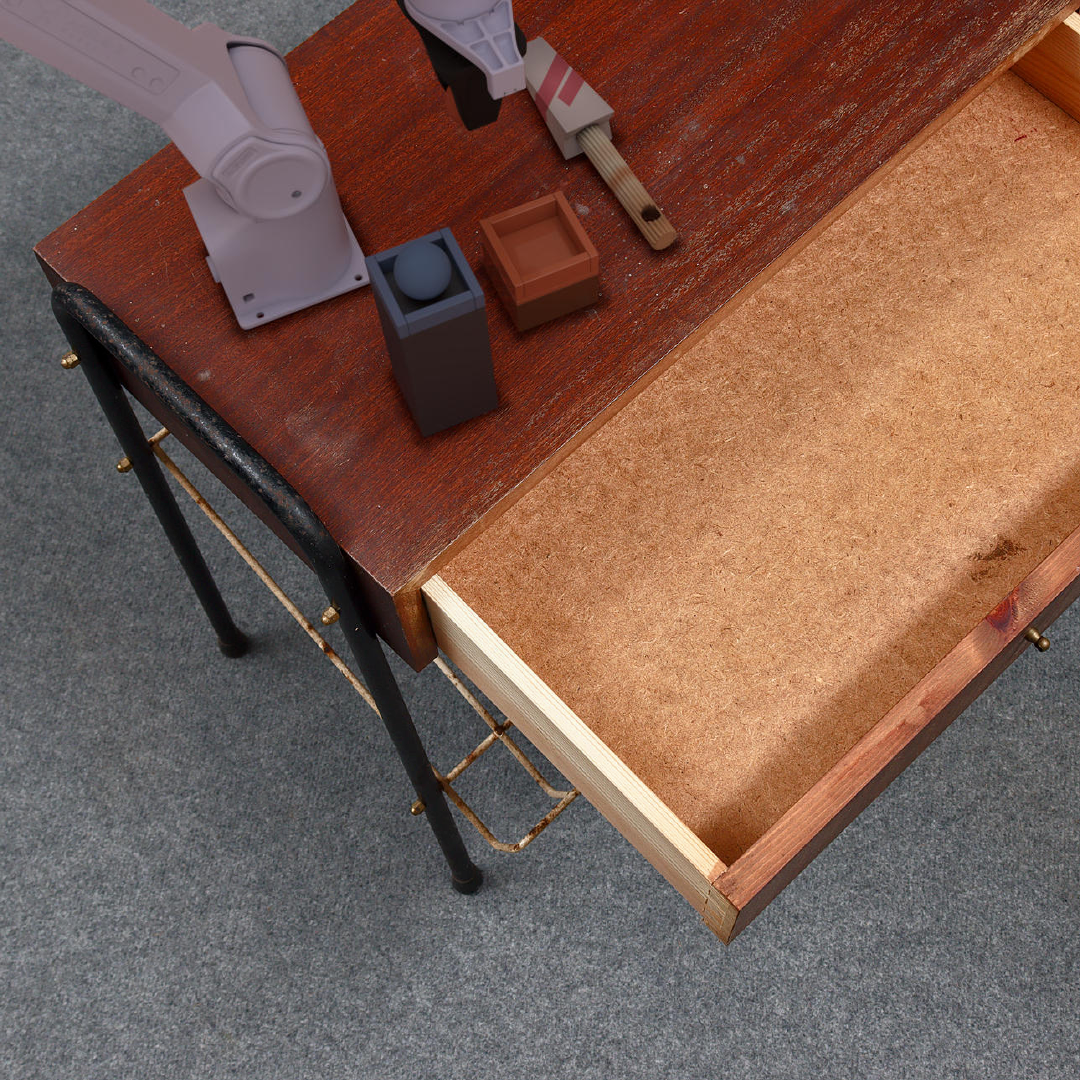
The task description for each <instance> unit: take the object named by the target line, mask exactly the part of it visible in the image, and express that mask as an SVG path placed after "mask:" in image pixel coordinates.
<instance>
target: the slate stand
mask: <svg viewBox="0 0 1080 1080" xmlns="http://www.w3.org/2000/svg"><path fill="white" fill-rule="evenodd" d="M415 242H429V243H432V244H435V245H436V246H438V247H439V248H441V249H442V250H443V251H444V252H445V254H446V255H447V257H448V259H449V261H450V265H451V279H450V282H449V284H448V286H447V288H446V289H445V290H444V292H443V293H442V294H440V295H439V296H437V297H435V298H433V299H430V300H416V299H413V298H411V297H409V296H407V295H406V294H404V293H403V292H402V291H401V289H400V288H399V287H398V285H397V283H396V281H395V277H394V264H395V260H396V258H397V256H398V254H399V253H400V252H401V250H402V249H404V248H405V247H406V246H408V245H409V244H412V243H415ZM364 261H365V265H366V268H367V272H368V276H369V280H370V283H369V284H370V288H371V292H372V295H373V299H374V303H375V307H376V311H377V314H378V318H379V322H380V326H381V330H382V334H383V338H384V342H385V346H386V350H387V353H388V357H389V361H390V365H391V369H392V373H393V376H394V379H395V381H396V383H397V385H398V388H399V389H400V391H401V394H402V396H403V398H404V401H405V402H406V404H407V406H408V408H409V410H410V412H411V414H412V417H413V418H414V421H415V423H416V424H417V427H418V429H419V431H420V433H421V435H422V437H423V439H425V438H427V437H430V436H432V435H435V434H437V433H440V432H442V431H445V430H447V429H450V428H452V427H455V426H457V425H460V424H462V423H465V422H467V421H470V420H471V419H474V418H477V417H479V416H482V415H484V414H487V413H489V412H491V411H495V410H496V409H499V402H498V393H497V387H496V377H495V372H494V371H495V370H494V369H495V368H494V363H493V362H494V361H493V354H492V346H491V339H490V329H489V323H488V322H489V321H488V314H487V306H486V299H485V292H484V291H483V288H482V287H481V285H480V282H479V281H478V279H477V277H476V275H475V274H474V272H473V269H472V268H471V266H470V264H469V262H468V260H467V259H466V257H465V255H464V253H463V250H462V249H461V247H460V245H459V243H458V241H457V240H456V238H455V235H454V233H453V232H452V230H451V228H450V226H446V227H443V228H441V229H440V230H438V229H437V230H436V231H432V232H430V233H428V234H425V235H422V236H420V237H417V238H415V239H411V240H409V241H407V242H403V243H401V244H398V245H396V246H393V247H390V248H388V249H385V250H382V251H380V252H377V253H374V254H372V255H369V256H366V257H365V258H364Z"/></svg>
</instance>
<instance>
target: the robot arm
mask: <svg viewBox="0 0 1080 1080" xmlns="http://www.w3.org/2000/svg"><path fill="white" fill-rule="evenodd" d="M395 2H396V4H397V5H398V7H399V9H400V10H401V13H402V14H403V16H404V17H405V18H406V19H407V20H408V21H409V22H410V23H411V25H412V26H413V27H414V28H415V29H416V32H418V35H419V36H420V39H421V41H422V43H423V46H424V48H425V51H426V55H427V57H428V59H429V61H430V64H431V66H432V69H433V71H434V74H435V76H436V78H437V81H438V82H439V84H440V85H441V87H442V89H443V91H444V93H446V90H447V88H448V86H450V89H451V91H452V94H453V98H454V101H455V104H456V107H457V110H458V113H459V115H460V118H461V120H462V121H463V123H464V125H465V126H464V128H466V130H467V131H468V132H472V131H476V130H478V129H481V128H483V127H485V126H489V125H491V124H493V123H496V122H497V121H498V119H499V115H500V111H501V108H502V103H503V98H504V97H508V96H509V95H510V96H511V95H512V94H515V93H517V92H520V91H522V90H524V89H527V87H526V80H525V64H524V61H523V59H522V58H523V57H524V56H525V54H526V52H527V43H528V41H527V37H526V35H525V34H524V32H523V31H522V29H521V27H520V25H519V24H518V22H517V21H514V12H513V3H512V0H395ZM0 39H1V40H3V41H5V42H7V43H9V44H10V45H12V46H14V47H16V48H18V49H19V50H21V51H23V52H25V53H27V54H28V55H30V56H32V57H34V58H36V59H38V60H39V61H41V62H43V63H44V64H47V65H49V66H50V67H53V68H54V69H56V70H58V71H60V72H61V73H63V74H65V75H66V76H69V77H70V78H72V79H74V80H76V81H78V82H80V83H81V84H84V85H85V86H87V87H89V88H91V89H92V90H94V91H96V92H98V93H99V94H102V95H103V96H105V97H106V98H108V99H111V100H112V101H114V102H116V103H117V104H120V105H121V106H124V107H125V108H127V109H129V110H131V111H132V112H135V113H136V114H138V115H140V116H142V117H143V118H145V119H147V120H149V121H150V122H152V123H154V124H156V125H158V126H159V128H161V129H162V130H163V131H164V132H165V134H166V135H167V136H168V137H169V138H170V140H171V141H172V143H174V145H175V146H176V148H177V149H178V150H179V151H180V153H181V154H182V155H183V157H184V158H185V159H186V160H187V162H188V163H189V164H190V165H191V166H192V168H193V169H194V170H195V172H196V173H197V174H198V175H199V176H200V177H201V178H199V179H197V180H196V181H194V182H193V183H191V184H189V185H187V186H185V187H183V188H182V189H181V191H182V192H183V195H184V197H185V200H186V203H187V205H188V208H189V210H190V213H191V215H192V217H193V219H194V221H195V224H196V226H197V228H198V231H199V234H200V236H201V238H202V240H203V243H204V245H205V247H206V250H207V252H208V254H209V255H207V256H205V260H206V263H207V265H208V268H209V270H210V272H211V275H212V277H213V279H214V282H215V283H216V284H218V283H221V285H222V287H223V289H224V292H225V294H226V297H227V299H228V301H229V304H230V305H231V308H232V310H233V312H234V315H235V317H236V320H237V322H238V324H239V327H240V328H241V329H242V330H246V331H247V330H251V329H254V328H256V327H258V326H259V327H260V326H261V325H264V324H267V323H269V322H272V321H275V320H277V319H280V318H283V317H285V316H288V315H291V314H292V313H293V314H294V313H295V312H299V311H301V310H303V309H306V308H309V307H311V306H314V305H316V304H319V303H322V302H324V301H327V300H330V299H332V298H335V297H337V296H340V295H342V294H346V293H348V292H350V291H353V290H356V289H358V288H361V287H364V286H366V285H369V284H370V280H369V276H368V272H367V268H366V265H365V261H364V258H366V257H365V254H364V252H363V250H362V249H361V247H360V245H359V242H358V240H357V238H356V236H355V234H354V232H353V229H352V228H351V226H350V224H349V222H348V220H347V218H346V215H345V214H344V212H343V211H344V210H343V208H342V205H341V201H340V197H339V194H338V191H337V190H338V189H337V186H336V183H335V179H334V175H333V170H332V167H331V166H332V165H331V162H330V160H329V156H328V153H327V149H326V147H325V145H324V143H323V141H322V139H320V138H319V136H318V135H316V133H315V132H314V129H313V127H312V125H311V123H310V120H309V117H308V116H307V114H306V111H305V109H304V107H303V104H302V102H301V100H300V98H299V95H298V92H297V90H296V87H295V86H294V84H293V82H292V79H291V74H290V71H289V67H288V64H287V61H286V59H285V57H284V56H283V54H282V53H281V52H280V51H279V49H277V47H276V46H275V45H273V44H271V43H270V42H269V41H266V40H264V39H261V38H258V37H254V36H245V35H238V34H234V33H230V32H228V31H225V30H223V29H222V28H220V27H218V26H217V25H216V24H214V23H212V22H211V21H205V22H204V21H203V22H202V23H200V24H198V25H197V26H195V27H193V28H192V29H190V28H189V27H187V26H186V25H184V24H182V23H181V22H179V21H178V20H176V19H175V18H173V17H172V16H170V15H168V14H167V13H165V12H164V11H162V10H161V9H159V8H158V7H156V6H154V5H153V4H151V3H150V2H148V1H147V0H0ZM358 279H360V280H358ZM260 316H261V317H260ZM262 316H263V317H262Z"/></svg>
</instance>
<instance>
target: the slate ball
mask: <svg viewBox="0 0 1080 1080" xmlns="http://www.w3.org/2000/svg"><path fill="white" fill-rule="evenodd" d="M394 277H395V281H396V283H397V285H398V287H399V288H400V289H401V291H402V292H403V293H404V294H406V295H407V296H409V297H411V298H413V299H416V300H430V299H433V298H435V297H437V296H439V295H440V294H442V293H443V292H444V290H445V289H446V288H447V286H448V284H449V282H450V279H451V265H450V261H449V259H448V257H447V255H446V254H445V252H444V251H443V250H442V249H441V248H439V247H438V246H436V245H435V244H432V243H429V242H415V243H412V244H409V245H408V246H406V247H405V248H404V249H402V250H401V252H400V253H399V254H398V256H397V258H396V260H395V264H394Z"/></svg>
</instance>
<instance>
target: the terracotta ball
mask: <svg viewBox="0 0 1080 1080" xmlns="http://www.w3.org/2000/svg"><path fill="white" fill-rule="evenodd" d="M444 106H445V109H446V112H447V114H448V115H449V116H450V118H451V119H452V120H453V121H454V122H455V123H456V124H458V125H460V126H462V127H465V125H464V123H463V121H462V120H461V118H460V115H459V113H458V110H457V107H456V104H455V101H454V98H453V94H452V91H451V89H450V86H448V88H447V90H446V92H445V94H444Z"/></svg>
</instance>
